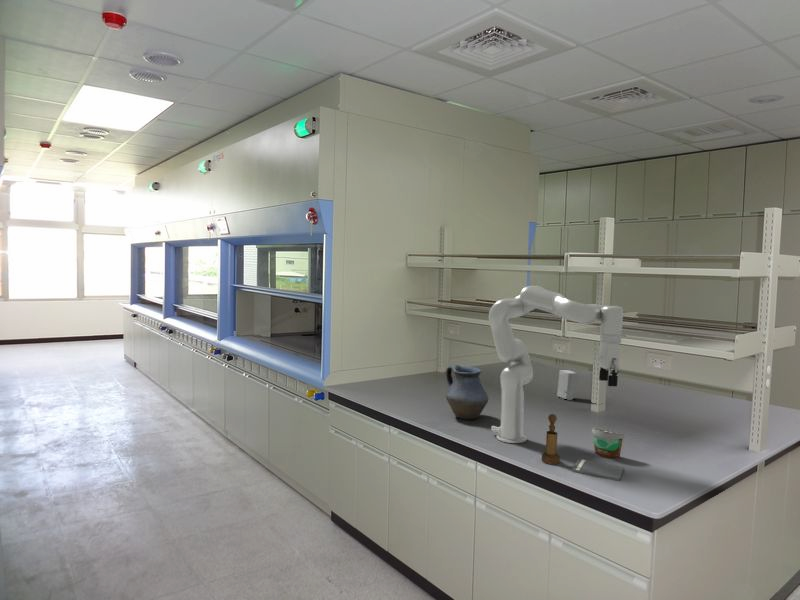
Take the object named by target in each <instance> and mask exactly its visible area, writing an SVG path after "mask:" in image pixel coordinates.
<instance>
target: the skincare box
mask: <svg viewBox="0 0 800 600" xmlns="http://www.w3.org/2000/svg"><path fill="white" fill-rule="evenodd" d="M558 373H559V374H558V382H557V383H558V384H557V389H556V390H557V393H556V397H557V396H559V397H562V398H565V399H572V398H575V399H576V390H577V382H578V381H577V380H578V372H576V371H572V370H569V369H567V370H566V369H564V370H563V369H560V370H559V372H558Z"/></svg>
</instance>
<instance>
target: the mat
mask: <svg viewBox="0 0 800 600" xmlns="http://www.w3.org/2000/svg"><path fill="white" fill-rule="evenodd" d="M624 470H625V469H624V467H622V466H618V465H611V464H606V463H602V462H601V463H600V462H595V461H589V460H586V459H579V458H578V459H577V460H576V462H575V464H574V465H573V467H572V468H571V472H573V471H574V473H578V472H579V473H580V474H583V473H585V474H584V475H588V474H590V476H593V475H596V476H595V477H598V476H601V477H600V478H603V477H604V479H608V478H609V480H613V479H614V480H615V481H618V480H619V481H620V479H621V477H622V475H623V472H624ZM614 480H613V481H614Z"/></svg>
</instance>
